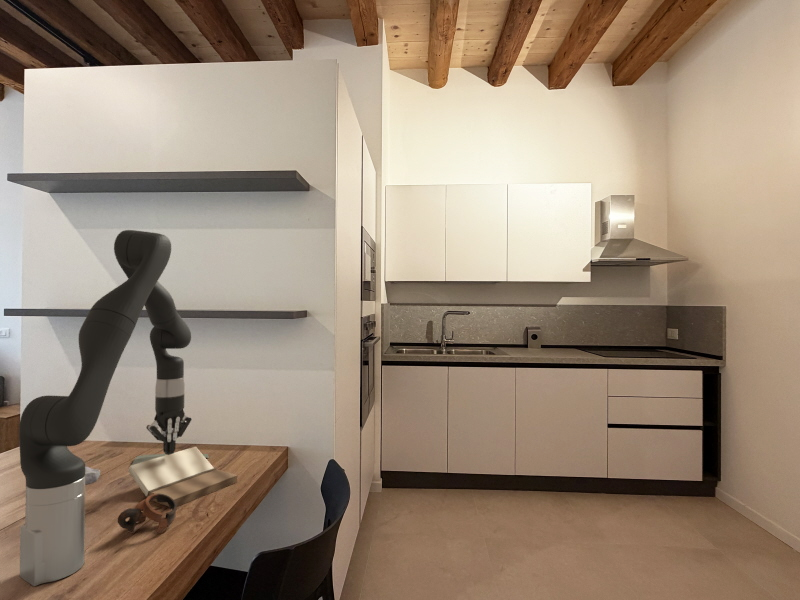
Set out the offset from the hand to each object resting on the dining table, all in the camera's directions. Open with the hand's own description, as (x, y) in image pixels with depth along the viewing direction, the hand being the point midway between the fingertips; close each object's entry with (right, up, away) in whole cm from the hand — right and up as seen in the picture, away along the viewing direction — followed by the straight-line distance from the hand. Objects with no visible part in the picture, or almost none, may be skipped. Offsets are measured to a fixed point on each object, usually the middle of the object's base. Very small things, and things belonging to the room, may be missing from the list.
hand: (169, 453), depth 134 cm
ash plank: (+1, -5, -1) cm, 5 cm away
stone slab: (-9, -9, +19) cm, 23 cm away
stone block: (-27, -8, 0) cm, 28 cm away
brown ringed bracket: (+9, -8, -28) cm, 31 cm away
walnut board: (+10, -8, -6) cm, 14 cm away
